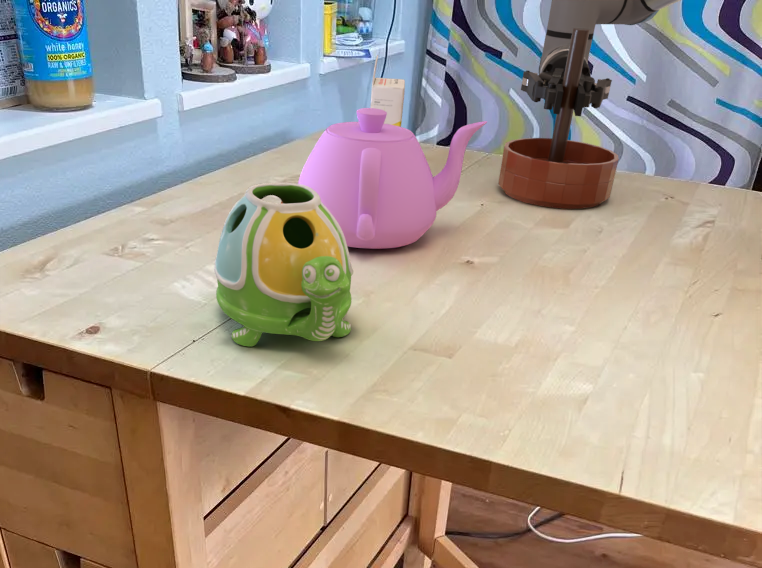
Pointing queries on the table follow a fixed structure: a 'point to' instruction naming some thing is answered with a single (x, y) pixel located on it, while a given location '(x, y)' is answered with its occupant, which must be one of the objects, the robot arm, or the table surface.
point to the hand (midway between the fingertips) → (569, 103)
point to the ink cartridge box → (388, 97)
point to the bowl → (557, 173)
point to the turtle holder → (283, 266)
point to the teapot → (381, 179)
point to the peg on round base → (568, 94)
